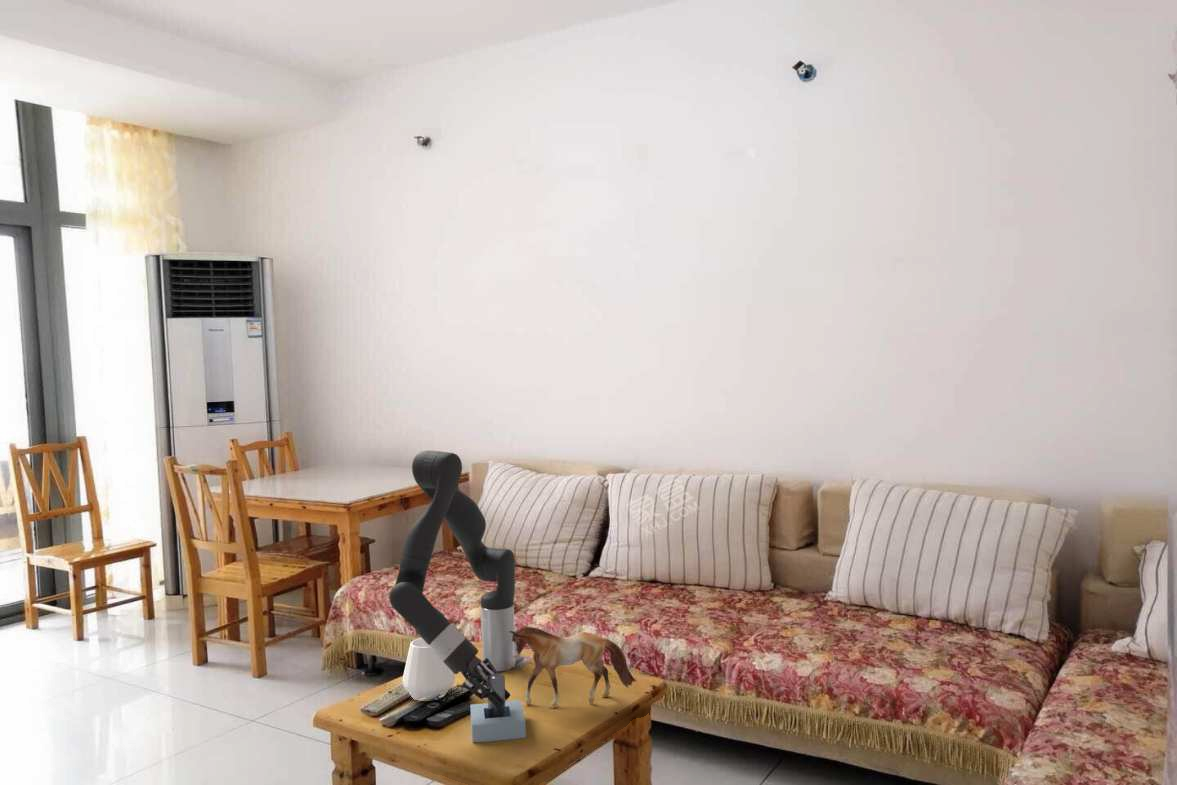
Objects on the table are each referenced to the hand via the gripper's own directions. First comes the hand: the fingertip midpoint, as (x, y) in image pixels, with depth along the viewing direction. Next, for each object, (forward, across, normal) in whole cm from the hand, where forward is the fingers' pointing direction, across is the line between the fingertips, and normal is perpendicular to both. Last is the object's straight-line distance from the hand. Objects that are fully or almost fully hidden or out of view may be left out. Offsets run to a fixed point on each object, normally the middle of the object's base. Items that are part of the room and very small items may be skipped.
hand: (504, 702), depth 201 cm
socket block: (+3, 0, +6) cm, 7 cm away
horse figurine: (+14, +15, -5) cm, 21 cm away
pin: (+2, 0, +4) cm, 5 cm away
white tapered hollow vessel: (-13, +18, +23) cm, 32 cm away
